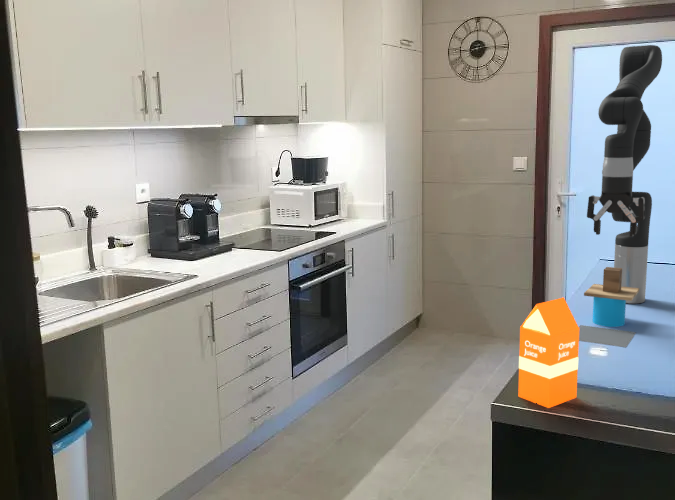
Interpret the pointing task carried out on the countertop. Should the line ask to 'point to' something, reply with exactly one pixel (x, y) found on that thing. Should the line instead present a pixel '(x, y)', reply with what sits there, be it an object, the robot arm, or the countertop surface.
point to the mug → (609, 312)
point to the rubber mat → (605, 336)
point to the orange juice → (549, 354)
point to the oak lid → (612, 286)
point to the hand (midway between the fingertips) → (614, 235)
